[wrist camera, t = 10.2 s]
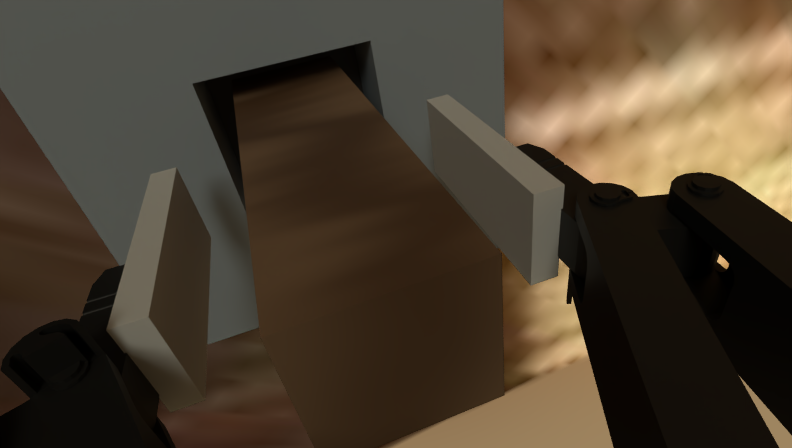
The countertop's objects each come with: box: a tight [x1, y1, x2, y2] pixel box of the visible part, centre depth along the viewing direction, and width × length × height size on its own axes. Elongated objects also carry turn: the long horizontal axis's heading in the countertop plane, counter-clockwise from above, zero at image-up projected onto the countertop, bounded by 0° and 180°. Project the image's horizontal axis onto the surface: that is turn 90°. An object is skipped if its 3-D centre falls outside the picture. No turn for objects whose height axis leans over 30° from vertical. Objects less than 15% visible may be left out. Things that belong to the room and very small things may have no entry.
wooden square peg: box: [231, 56, 504, 448], centre depth 14 cm, size 4×4×14 cm
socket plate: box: [0, 0, 505, 345], centre depth 18 cm, size 16×16×4 cm
